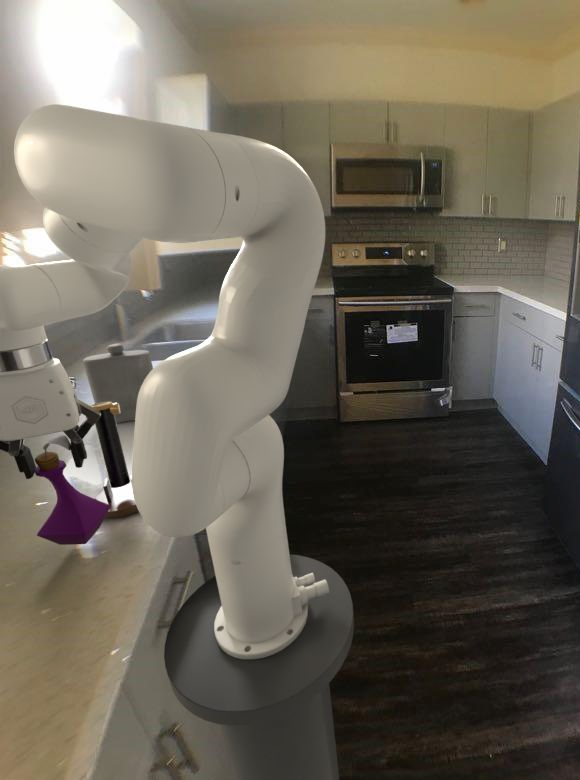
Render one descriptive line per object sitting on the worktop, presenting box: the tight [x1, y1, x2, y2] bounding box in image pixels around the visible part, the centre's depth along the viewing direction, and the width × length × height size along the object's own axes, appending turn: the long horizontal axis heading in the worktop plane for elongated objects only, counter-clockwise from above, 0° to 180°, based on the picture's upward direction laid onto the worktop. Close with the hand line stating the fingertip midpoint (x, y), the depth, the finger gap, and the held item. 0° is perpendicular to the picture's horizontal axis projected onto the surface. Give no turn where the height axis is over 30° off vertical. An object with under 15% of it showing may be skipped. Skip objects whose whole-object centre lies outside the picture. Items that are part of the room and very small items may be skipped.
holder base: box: [94, 471, 139, 519], centre depth 85 cm, size 10×10×5 cm
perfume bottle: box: [34, 434, 110, 546], centre depth 72 cm, size 8×8×18 cm
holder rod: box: [85, 402, 131, 488], centre depth 83 cm, size 16×5×3 cm
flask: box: [82, 343, 154, 424], centre depth 118 cm, size 15×6×20 cm, turn 110°
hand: (56, 467), depth 70 cm, fingers closed on perfume bottle, 5 cm apart
